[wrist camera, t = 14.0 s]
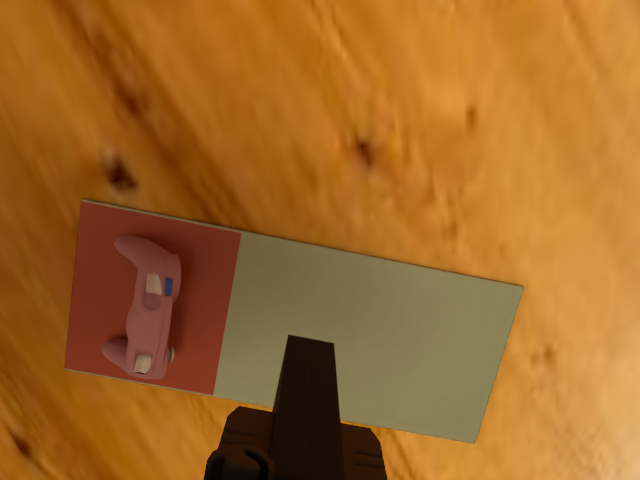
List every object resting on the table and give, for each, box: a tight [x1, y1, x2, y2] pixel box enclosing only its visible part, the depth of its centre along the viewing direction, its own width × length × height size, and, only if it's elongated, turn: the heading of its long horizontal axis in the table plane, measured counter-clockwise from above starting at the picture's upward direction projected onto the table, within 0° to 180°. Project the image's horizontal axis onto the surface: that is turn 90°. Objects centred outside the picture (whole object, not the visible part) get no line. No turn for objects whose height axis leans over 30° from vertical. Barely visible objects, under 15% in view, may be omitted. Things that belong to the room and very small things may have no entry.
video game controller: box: [101, 235, 181, 380], centre depth 36 cm, size 10×5×7 cm, turn 168°
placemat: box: [64, 199, 524, 444], centre depth 40 cm, size 34×14×1 cm, turn 78°
